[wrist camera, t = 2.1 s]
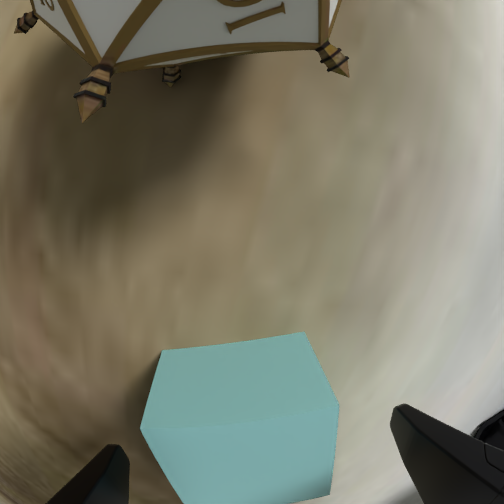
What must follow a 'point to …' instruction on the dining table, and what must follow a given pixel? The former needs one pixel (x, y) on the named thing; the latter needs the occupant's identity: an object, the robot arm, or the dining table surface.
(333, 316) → the dining table surface
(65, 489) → the robot arm
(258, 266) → the dining table surface
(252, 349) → the teal block
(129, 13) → the game die
